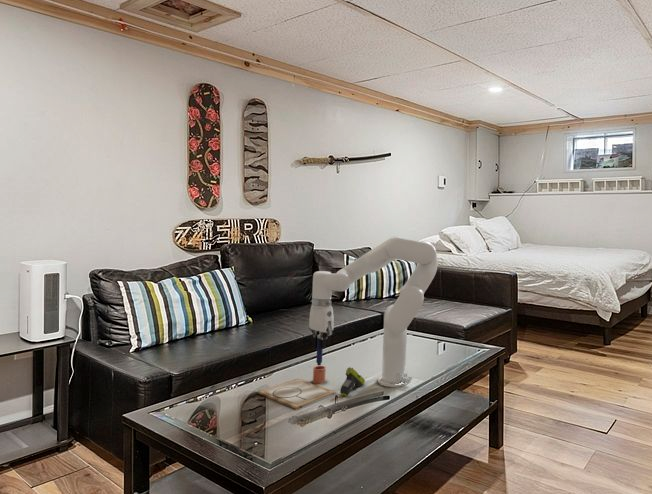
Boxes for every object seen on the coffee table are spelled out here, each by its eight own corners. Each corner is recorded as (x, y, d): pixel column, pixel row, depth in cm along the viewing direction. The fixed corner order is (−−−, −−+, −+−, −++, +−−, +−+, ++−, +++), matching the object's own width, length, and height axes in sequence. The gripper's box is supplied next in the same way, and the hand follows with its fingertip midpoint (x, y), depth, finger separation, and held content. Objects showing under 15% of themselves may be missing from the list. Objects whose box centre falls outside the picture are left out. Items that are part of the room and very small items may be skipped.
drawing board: (335, 394, 186) (335, 391, 186) (296, 409, 171) (296, 406, 171) (297, 380, 199) (298, 378, 199) (258, 393, 184) (258, 390, 184)
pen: (323, 364, 197) (324, 335, 197) (318, 366, 196) (320, 336, 196) (319, 363, 199) (320, 334, 199) (315, 364, 197) (316, 335, 197)
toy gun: (357, 404, 191) (366, 379, 197) (343, 393, 180) (352, 366, 186) (352, 403, 192) (360, 378, 198) (337, 392, 181) (347, 365, 187)
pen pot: (327, 382, 198) (328, 367, 198) (318, 385, 194) (318, 370, 194) (319, 379, 201) (320, 365, 201) (310, 382, 197) (310, 367, 197)
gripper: (342, 304, 195) (340, 350, 196) (315, 298, 205) (314, 342, 205) (328, 306, 189) (326, 354, 189) (301, 300, 198) (299, 346, 199)
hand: (319, 347), depth 197 cm, fingers closed on pen, 2 cm apart
